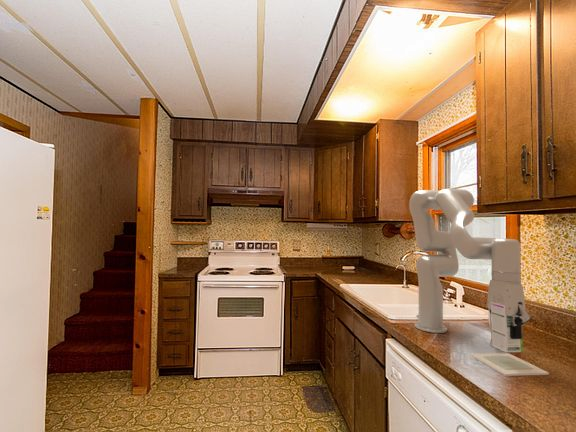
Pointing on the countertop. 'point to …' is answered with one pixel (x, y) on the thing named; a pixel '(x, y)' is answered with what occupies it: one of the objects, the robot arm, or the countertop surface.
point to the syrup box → (503, 330)
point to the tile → (509, 364)
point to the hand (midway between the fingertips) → (506, 334)
